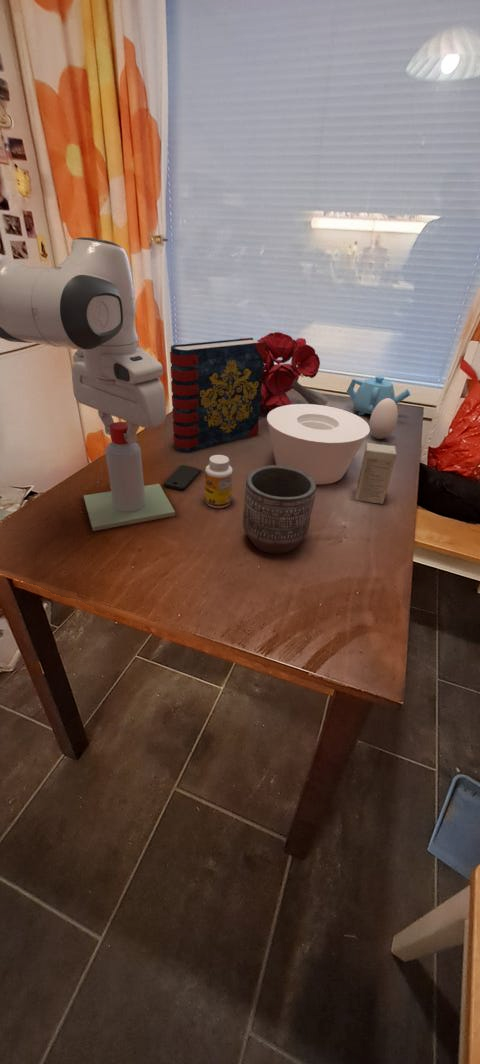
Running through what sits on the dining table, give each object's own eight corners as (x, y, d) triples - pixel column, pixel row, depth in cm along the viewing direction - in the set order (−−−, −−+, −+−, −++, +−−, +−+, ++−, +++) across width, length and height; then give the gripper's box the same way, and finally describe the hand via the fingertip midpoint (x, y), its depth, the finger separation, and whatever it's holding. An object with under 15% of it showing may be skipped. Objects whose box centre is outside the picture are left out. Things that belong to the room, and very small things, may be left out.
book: (181, 454, 107) (179, 351, 92) (168, 444, 111) (164, 344, 97) (259, 435, 120) (267, 342, 105) (244, 427, 124) (250, 336, 109)
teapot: (339, 415, 137) (346, 378, 130) (347, 400, 150) (354, 366, 143) (402, 427, 132) (413, 389, 125) (404, 410, 145) (415, 375, 138)
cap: (113, 445, 75) (111, 430, 74) (109, 437, 78) (107, 422, 76) (134, 442, 76) (132, 428, 75) (129, 435, 79) (128, 420, 78)
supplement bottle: (201, 497, 90) (201, 454, 84) (225, 494, 92) (227, 451, 86) (209, 511, 86) (210, 466, 80) (234, 507, 88) (237, 463, 82)
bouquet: (297, 416, 153) (228, 371, 142) (341, 361, 140) (269, 306, 130) (305, 445, 136) (227, 396, 126) (355, 385, 124) (273, 324, 113)
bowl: (378, 475, 104) (391, 429, 97) (309, 502, 92) (319, 451, 85) (309, 440, 119) (316, 398, 112) (243, 459, 107) (246, 413, 100)
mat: (92, 531, 79) (92, 527, 78) (84, 499, 87) (83, 495, 87) (175, 515, 84) (175, 511, 84) (159, 487, 93) (159, 483, 92)
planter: (266, 515, 86) (273, 458, 79) (317, 539, 81) (329, 481, 73) (228, 540, 79) (231, 480, 71) (281, 570, 73) (290, 508, 65)
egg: (382, 445, 119) (393, 404, 112) (360, 436, 123) (370, 397, 117) (396, 439, 123) (408, 399, 117) (374, 431, 128) (384, 392, 121)
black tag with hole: (201, 468, 99) (183, 488, 92) (201, 471, 100) (183, 490, 92) (181, 464, 101) (162, 483, 93) (181, 467, 101) (162, 486, 93)
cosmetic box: (382, 495, 96) (397, 445, 89) (383, 505, 93) (398, 454, 85) (354, 490, 97) (366, 441, 90) (353, 499, 94) (366, 449, 86)
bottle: (116, 514, 82) (105, 436, 72) (110, 498, 86) (99, 423, 77) (149, 508, 84) (142, 432, 75) (141, 493, 89) (134, 420, 79)
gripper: (56, 349, 71) (71, 427, 79) (140, 375, 62) (147, 460, 70) (87, 344, 76) (98, 418, 84) (170, 368, 66) (173, 448, 75)
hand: (121, 438), depth 77 cm, fingers closed on cap, 4 cm apart
